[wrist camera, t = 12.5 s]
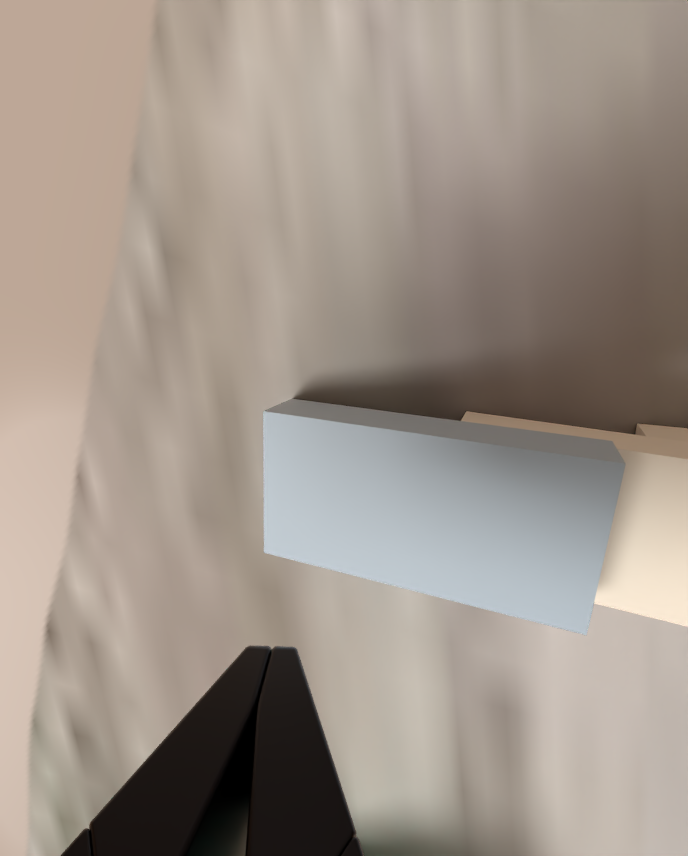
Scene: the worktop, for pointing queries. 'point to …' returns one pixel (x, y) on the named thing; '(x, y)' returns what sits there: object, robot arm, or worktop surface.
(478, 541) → the domino
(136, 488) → the worktop surface
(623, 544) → the ivory domino
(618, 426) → the worktop surface
